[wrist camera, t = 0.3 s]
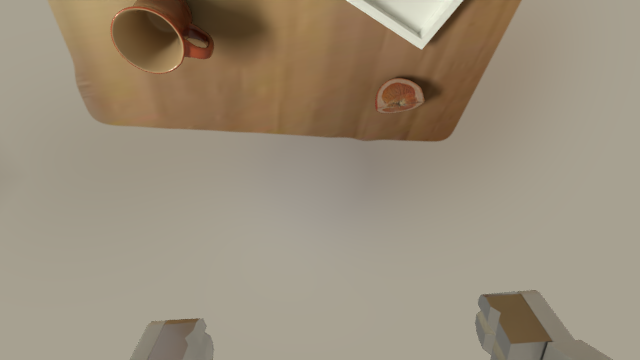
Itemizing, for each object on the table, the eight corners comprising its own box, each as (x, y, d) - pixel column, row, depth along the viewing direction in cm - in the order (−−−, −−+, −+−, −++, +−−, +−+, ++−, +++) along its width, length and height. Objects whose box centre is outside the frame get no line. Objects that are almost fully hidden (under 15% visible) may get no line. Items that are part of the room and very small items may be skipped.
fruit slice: (420, 71, 61) (427, 86, 57) (416, 103, 66) (422, 119, 62) (372, 76, 61) (377, 92, 58) (371, 108, 66) (376, 124, 63)
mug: (136, 29, 53) (112, 62, 46) (135, -32, 47) (108, -4, 40) (216, 53, 56) (205, 87, 49) (225, -1, 50) (214, 29, 43)
